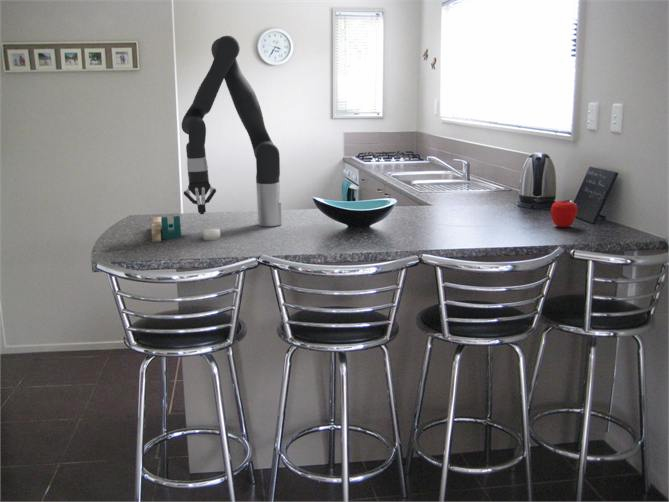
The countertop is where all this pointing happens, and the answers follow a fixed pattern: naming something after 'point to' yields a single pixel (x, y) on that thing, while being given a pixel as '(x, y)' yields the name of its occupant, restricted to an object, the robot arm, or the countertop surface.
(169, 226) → the bracket
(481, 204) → the countertop surface
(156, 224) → the batten
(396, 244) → the countertop surface
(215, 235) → the rounded smooth part
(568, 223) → the apple
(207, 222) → the countertop surface
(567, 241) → the countertop surface
